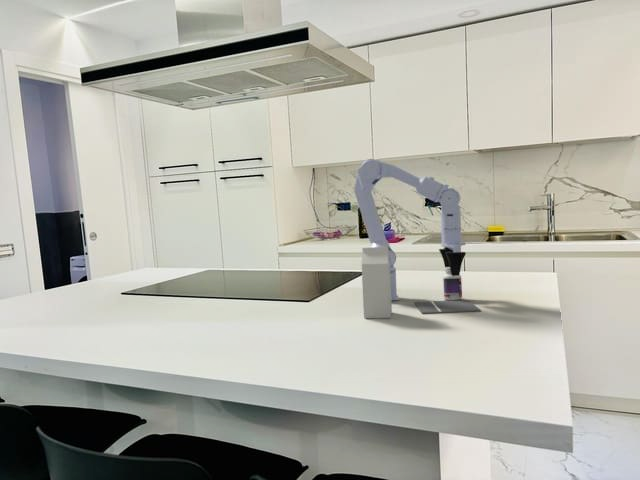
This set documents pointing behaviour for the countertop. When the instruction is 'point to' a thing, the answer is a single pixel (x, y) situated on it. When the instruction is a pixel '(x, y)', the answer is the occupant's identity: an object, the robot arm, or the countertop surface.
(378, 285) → the milk carton
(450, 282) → the pill bottle
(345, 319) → the countertop surface
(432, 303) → the mat
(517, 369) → the countertop surface
